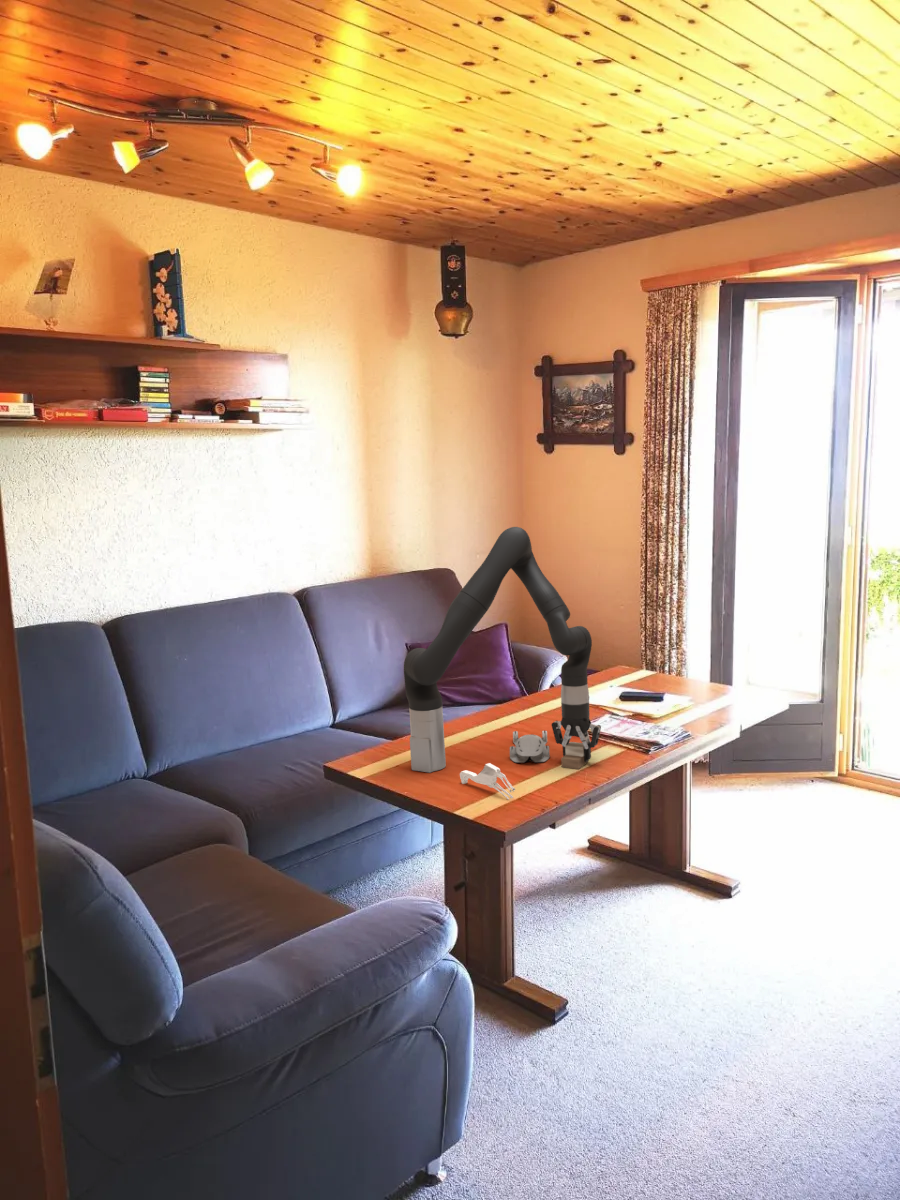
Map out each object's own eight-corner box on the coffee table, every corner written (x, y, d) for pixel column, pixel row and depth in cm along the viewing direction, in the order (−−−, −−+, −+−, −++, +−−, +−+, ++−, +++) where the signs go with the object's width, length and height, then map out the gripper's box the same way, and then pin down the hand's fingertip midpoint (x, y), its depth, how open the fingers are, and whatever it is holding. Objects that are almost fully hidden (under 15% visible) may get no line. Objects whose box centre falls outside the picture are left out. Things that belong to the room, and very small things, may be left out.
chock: (571, 759, 256) (570, 741, 256) (588, 761, 254) (587, 743, 253) (561, 766, 250) (560, 749, 250) (578, 769, 248) (578, 751, 247)
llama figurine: (507, 819, 233) (462, 778, 244) (517, 783, 228) (471, 743, 239) (502, 821, 232) (457, 780, 243) (512, 785, 227) (466, 745, 238)
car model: (549, 739, 277) (548, 723, 276) (549, 766, 253) (549, 749, 252) (512, 740, 278) (511, 724, 277) (509, 767, 254) (508, 749, 253)
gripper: (545, 701, 251) (547, 761, 254) (595, 705, 244) (597, 767, 247) (556, 694, 258) (558, 753, 260) (604, 698, 251) (606, 758, 253)
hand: (577, 759), depth 253 cm, fingers closed on chock, 5 cm apart
